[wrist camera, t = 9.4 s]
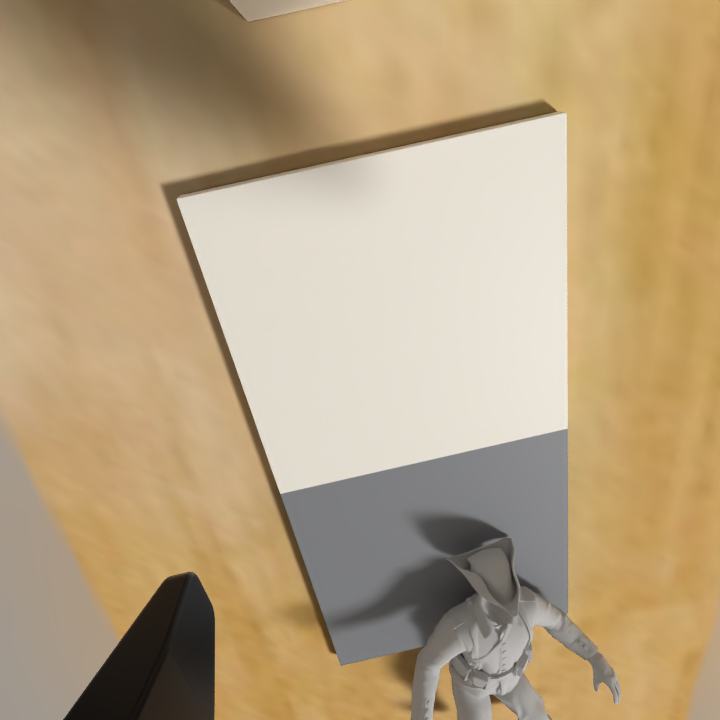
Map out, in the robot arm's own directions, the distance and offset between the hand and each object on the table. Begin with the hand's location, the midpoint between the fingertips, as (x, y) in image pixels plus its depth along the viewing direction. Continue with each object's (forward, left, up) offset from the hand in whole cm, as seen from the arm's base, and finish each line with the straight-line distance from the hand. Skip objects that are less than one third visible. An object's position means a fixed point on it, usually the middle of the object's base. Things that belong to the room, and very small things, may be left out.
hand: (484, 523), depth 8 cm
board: (-4, 0, -7) cm, 9 cm away
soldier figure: (-20, 0, -6) cm, 21 cm away
